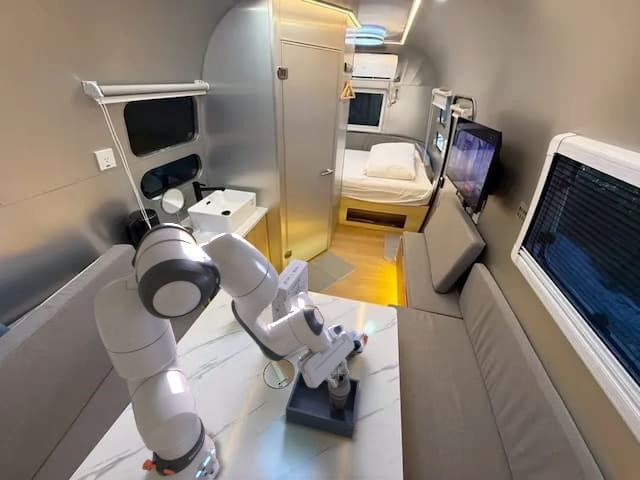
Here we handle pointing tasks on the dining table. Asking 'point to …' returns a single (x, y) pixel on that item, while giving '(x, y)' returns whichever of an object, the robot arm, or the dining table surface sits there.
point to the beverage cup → (338, 392)
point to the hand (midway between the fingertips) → (341, 380)
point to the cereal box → (290, 286)
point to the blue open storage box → (322, 407)
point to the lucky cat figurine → (357, 344)
